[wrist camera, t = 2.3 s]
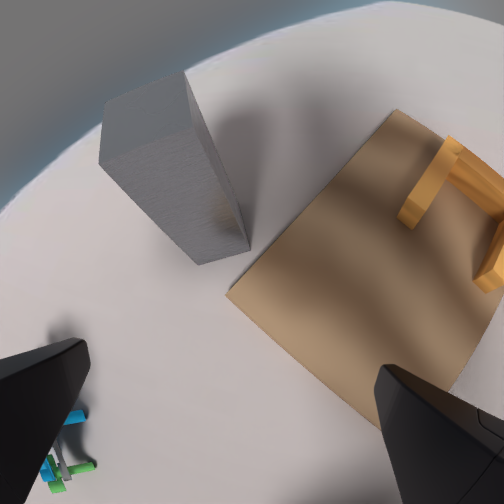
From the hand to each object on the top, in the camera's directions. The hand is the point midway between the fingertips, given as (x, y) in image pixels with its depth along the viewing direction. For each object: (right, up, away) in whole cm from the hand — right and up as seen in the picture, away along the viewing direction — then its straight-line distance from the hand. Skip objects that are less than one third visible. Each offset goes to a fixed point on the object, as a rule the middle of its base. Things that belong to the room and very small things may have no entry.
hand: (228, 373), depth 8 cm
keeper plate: (+12, +3, +12) cm, 18 cm away
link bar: (-2, +5, +15) cm, 16 cm away
